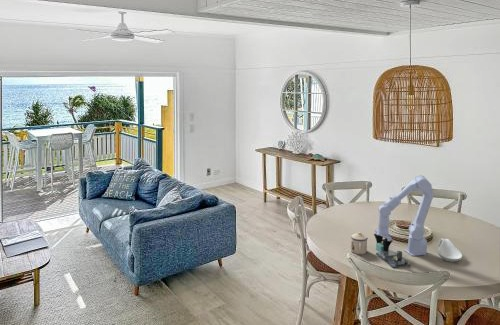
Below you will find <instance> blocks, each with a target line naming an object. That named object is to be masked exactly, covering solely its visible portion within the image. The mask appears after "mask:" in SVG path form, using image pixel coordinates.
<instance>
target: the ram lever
mask: <svg viewBox="0 0 500 325" xmlns="http://www.w3.org/2000/svg"><path fill="white" fill-rule="evenodd" d="M396 254H397V256H395V257H393V259H394V261H395V262H396V263H397V265H402V264H405V261H404V260H405V259H404V258H403V252H402V251H401V250H397V251H396ZM402 258H403V259H404V260H403V259H402Z"/></svg>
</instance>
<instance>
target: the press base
mask: <svg viewBox="0 0 500 325" xmlns="http://www.w3.org/2000/svg"><path fill="white" fill-rule="evenodd" d="M375 255H376V256H377V257H378V258H380V259H381V260H382V261H383V262H384V263H386V264H387V265H389V267H391V268H392V269H395V268H404V267H405V268H406V267H411V264H410V263H409V262H408V261H407V260H406V259H404V258H403V257H402V259H403V260H404V261H405V264H402V265H397V263H396V262H395V261H394V259H393V257H395V256H397V253H395V252H394V251H393V250H391V249H389V250H388V251H384V250H383V251H377V252H376V253H375Z"/></svg>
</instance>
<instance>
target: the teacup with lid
mask: <svg viewBox="0 0 500 325" xmlns="http://www.w3.org/2000/svg"><path fill="white" fill-rule="evenodd" d="M350 238H351V242H350V243H351V245H350V251H351V253H352V254H356V255H365V254H366V253H368V252H367V250H368V239H369V238H368V236H367V235H366V234H363V233H362V231H358V232H356V233H353V234H352V235H351V236H350Z"/></svg>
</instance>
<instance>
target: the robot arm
mask: <svg viewBox="0 0 500 325" xmlns="http://www.w3.org/2000/svg"><path fill="white" fill-rule="evenodd" d="M432 186H433V185H432V183H431V182H430V181H429V180H428V179H427V178H426V177H425V176H424V175H421V174H419V175H417V176H415V177H414V178H413V179H412V180H411V181H410V182H409V183H408V184H407V185H405V187H404V188H402V190H401V191H399V192H398V194H396V195H392V196H389V199H387V201H386V202H383V203H382V204H380V205H379V206H378V209H377V210H378V212H379V213H378V222H377V224H378V225H377V227H378V228H375V229H374V232H375V233H374V234H373V235H374V238H375V241H376V243H382V242H383V248H384V251H388V249H389V250H390V246H391V244H392V243H393V238H392V237H391V235H390V233H389V232H390V229H389V228H390V216H391V214H392V213H391V212H392V211H394V210H395V209H396V208H397V207H398V206H400V204H401V203H402V200H403V199H405V198H406V197H407V196H408V195H409V194H411V192H418V191H419V190H420V191H421V193H422V197H421V199H420V203H419V205H418V209H417V211H416V214H415V217H414V220H412V222H411V224H410V225H408V232H409V235H408V242H407V244H408V246H407V249H404V252H406V253H407V254H409V255H410V256H412V257H415V256H425V255H428V253H427V252H428V250H427V248H428V241H427V238H426V237H424V230H425V221H426V219H427V216H428V213H429V210H430V207H431V205H432V201H433V199H434V195H435V193H434V189H433V187H432Z"/></svg>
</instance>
